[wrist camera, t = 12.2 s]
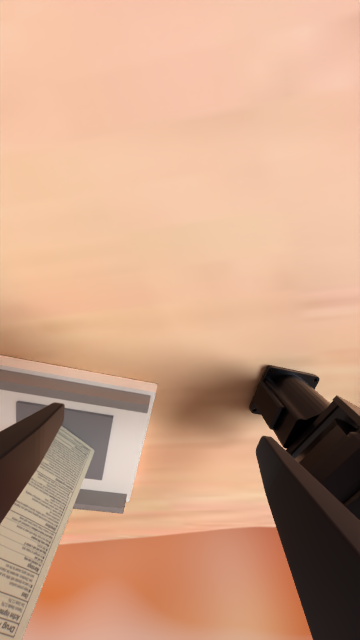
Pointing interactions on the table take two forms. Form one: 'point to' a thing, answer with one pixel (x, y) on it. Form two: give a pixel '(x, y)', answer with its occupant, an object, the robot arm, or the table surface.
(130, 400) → the stand
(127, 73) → the table surface
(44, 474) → the skincare box
